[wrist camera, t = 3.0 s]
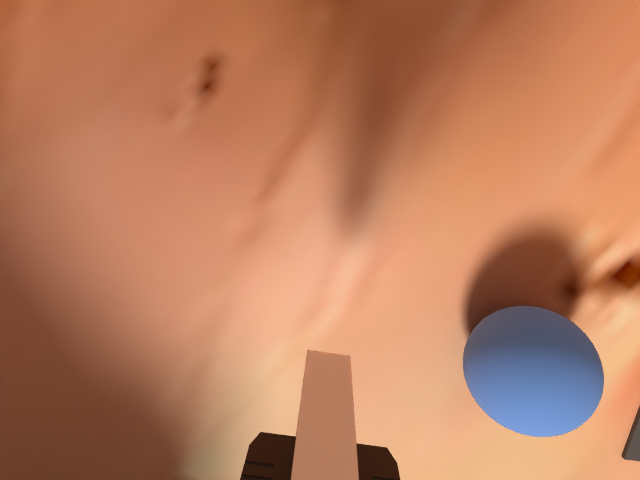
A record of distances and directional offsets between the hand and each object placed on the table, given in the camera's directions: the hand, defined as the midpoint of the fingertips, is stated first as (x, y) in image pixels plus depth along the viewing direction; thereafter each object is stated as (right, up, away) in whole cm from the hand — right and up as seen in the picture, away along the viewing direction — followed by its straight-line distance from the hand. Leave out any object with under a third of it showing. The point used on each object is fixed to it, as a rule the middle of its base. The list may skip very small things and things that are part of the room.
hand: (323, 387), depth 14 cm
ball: (+9, -1, +4) cm, 10 cm away
